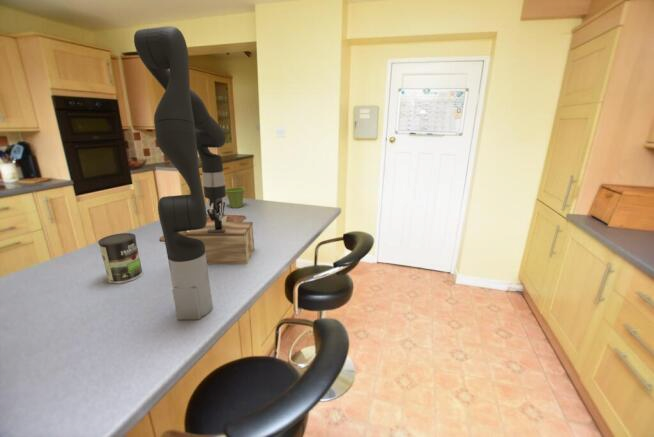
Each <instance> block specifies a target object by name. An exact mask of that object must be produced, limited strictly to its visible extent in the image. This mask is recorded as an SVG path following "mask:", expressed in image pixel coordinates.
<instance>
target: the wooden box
mask: <svg viewBox="0 0 654 437" xmlns="http://www.w3.org/2000/svg"><path fill="white" fill-rule="evenodd" d="M187 237H190V238H195V239H199V240H201V241H202V242H203V243H204V245H205V252H206V259H207V265H210V264H211V265H212V264H213V265H215V264H216V265H217V264H218V265H219V264H220V265H221V264H222V265H227V264H228V265H231V264H232V265H235V264H238V265H239V264H240V265H242V264H245V265H246V264H248V262H249V260H250V258H251V257H252V255H253V252H254V251H255V241H254V240H255V239H254V225H253V224H252V226H251V227H250V229H249V230H248V232H247V233H246V234H245V236H187Z"/></svg>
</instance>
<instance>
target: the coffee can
mask: <svg viewBox="0 0 654 437" xmlns="http://www.w3.org/2000/svg"><path fill="white" fill-rule="evenodd" d="M97 243H98V245H99V248H100V253H101V257H102V261H103V265H104V268H105V273H106V276H107V278H106V279H107V281H108V283H111V284H124V283H125V284H126V283H129V282H131V281H134V280H137V279H138V278H140V277H141V276H142V275H143V274H144V272H143V269H142V264H141V258H140V254H139V248H138V244H137V238H136V234H135V233H130V232H128V233H127V232H122V233H116V234H111V235H107V236H104V237H102V238H100V239H99V240H98V241H97Z"/></svg>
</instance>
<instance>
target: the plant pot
mask: <svg viewBox="0 0 654 437" xmlns="http://www.w3.org/2000/svg"><path fill="white" fill-rule="evenodd" d="M244 192H245V187H238V186H237V187H235V186H234V187H228V188H226V196H227V199H228V203H229V206H230V208H233V209H237V208H238V209H239V208H241V207H243V205H244V204H243V203H244Z"/></svg>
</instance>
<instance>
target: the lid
mask: <svg viewBox="0 0 654 437" xmlns="http://www.w3.org/2000/svg"><path fill="white" fill-rule="evenodd" d="M252 224H253V221H242V222H222V229H219V230H215V222H207V223H206V226H205V228H203V229H198V230H190V231H189V232H188V233H187V234H186V236H245V234H246V233H247V232H248V230H249V229H250V227H251V226H252Z"/></svg>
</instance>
